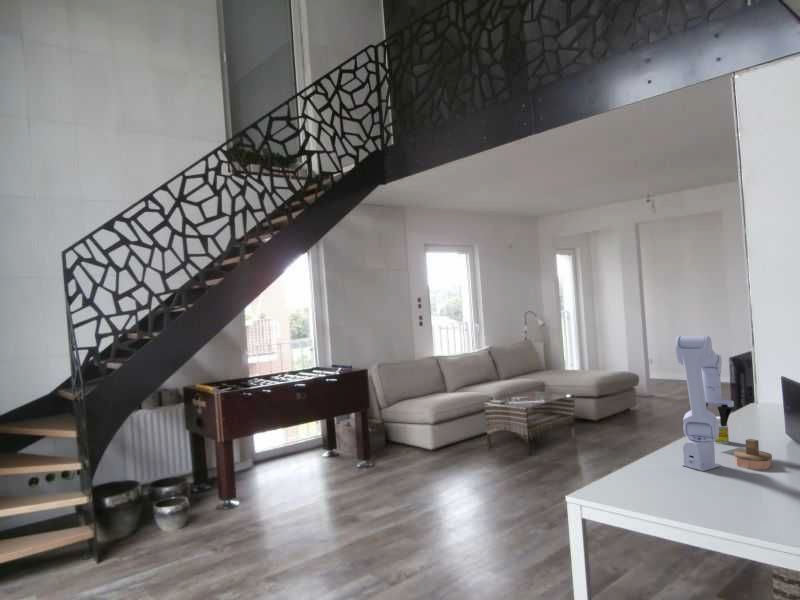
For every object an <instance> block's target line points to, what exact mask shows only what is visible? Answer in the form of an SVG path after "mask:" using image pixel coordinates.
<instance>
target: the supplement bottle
mask: <svg viewBox="0 0 800 600" xmlns="http://www.w3.org/2000/svg"><path fill="white" fill-rule="evenodd" d="M716 418H717V422H718V424H719V436H718V438H717V439H716V440H714V444H721V445H725V444H726V445H727V444H729V442H730V440H729V425H728V424H727V426H721V422H720V416H716Z"/></svg>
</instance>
